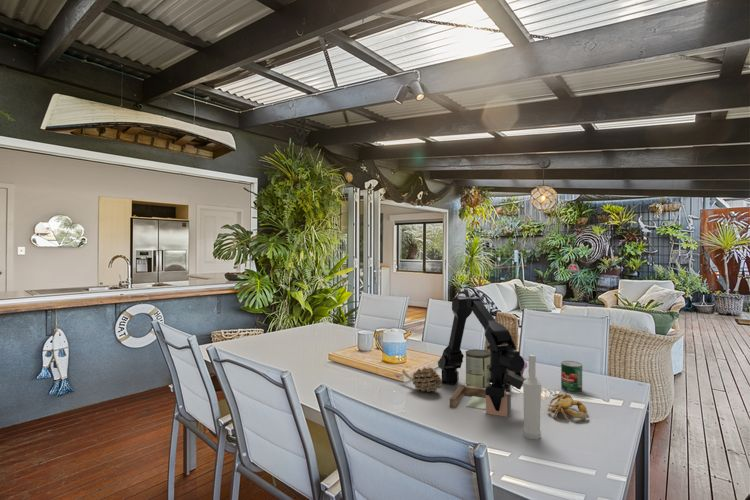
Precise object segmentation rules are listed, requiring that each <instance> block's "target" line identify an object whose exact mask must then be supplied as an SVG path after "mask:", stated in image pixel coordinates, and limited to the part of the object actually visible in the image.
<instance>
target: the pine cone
mask: <svg viewBox="0 0 750 500" xmlns="http://www.w3.org/2000/svg"><path fill="white" fill-rule="evenodd" d="M401 371H402V374H403V375H404V376H405V377H406V378H408V379H409V380H410V381H411V382H412V385H414V387H415V389H416V390H417V391H419V390H420V391H421V392H425V391H426V392H427V393H431V392H436V391H437V390H438V389H441V387H442V386H443V383H441V382H442V378H441V375H440V374H439V373H438V372H437V370H434V368H432V367H430V366H429V367H428V368H427V367H423V368H421V369H420V368H418V369H417V370H416V371H415V372H413V374H412V375H410V374H409V373H407V370H405V368H403V369H402V370H401Z"/></svg>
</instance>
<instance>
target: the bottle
mask: <svg viewBox="0 0 750 500" xmlns="http://www.w3.org/2000/svg"><path fill="white" fill-rule="evenodd" d="M536 356H537V355H535V354H528V376H527V377H526V379H524V382H523V384H522V387H523V391H522V392H523V428H522V431H523V432H522V433H523V436H524V437H526V438H527V439H529V440H530V439H531V440H539V439H540V438H541V435H542V430H541V408H542V405H541V404H542V403H541V402H542V383H541V382H540V381H539V380H538V379H537V377H536V361H537V358H536Z"/></svg>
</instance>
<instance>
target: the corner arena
mask: <svg viewBox="0 0 750 500" xmlns="http://www.w3.org/2000/svg"><path fill="white" fill-rule="evenodd" d="M485 389H486V388H482V387H474V386H467V385H466V384H459V386H457V389H456V390H455V391H454V392H453V394H452V395H451V396H450V398H449V407H450V408H454V409H455V408H457V406H458V404H459V403H460V401H461V400H462V398H463V397H464V395H467V396H471V398H470V400H469V401H468V402H467V404H466V407H467V408H472V409H478V410H482V411H486V394H485Z"/></svg>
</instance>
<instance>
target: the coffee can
mask: <svg viewBox="0 0 750 500" xmlns="http://www.w3.org/2000/svg"><path fill="white" fill-rule="evenodd" d="M489 368H490V351H488V350H485V349H475V348H474V349H468V350H465V385H467V386H474V387H482V388H486V387H487V386H488V385H489V384H491V383H489V379H490V371H489Z"/></svg>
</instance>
